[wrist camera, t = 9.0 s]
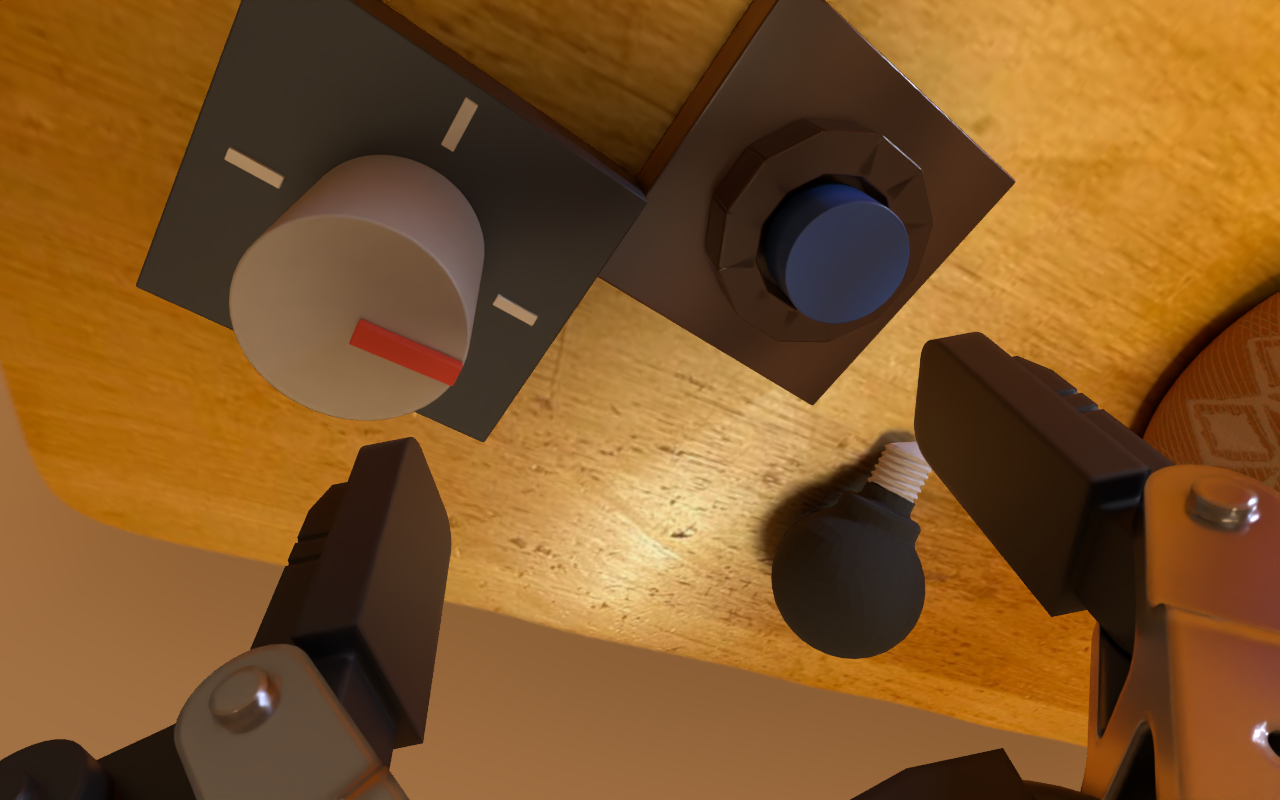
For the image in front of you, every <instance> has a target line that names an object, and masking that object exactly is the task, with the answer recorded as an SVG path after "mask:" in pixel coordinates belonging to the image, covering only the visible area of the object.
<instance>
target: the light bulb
mask: <svg viewBox="0 0 1280 800" xmlns="http://www.w3.org/2000/svg"><path fill="white" fill-rule="evenodd" d="M884 447H885V448H886V450H885V451H883V452H881V454H882V457H881V458H878V461H879V464H876V465H875V467H876V470H875V471H872V472H871V473H872V474H873V476H872V477H869V478H868V480H867V482H866V484H865V486H864V488H863V489H862V490H861V491H860V492H858V493H857V492H854V491H851V490H846V491H844V492H843V493H842V495H841V497H840V499H839V501H838V502H837V504H836V505H835V506H833V507H830V508H825V509H821V510H818V511H816V512H814V513H811V514H809V515H807V516H805V517H803V518H802V519H801V520H799V521H798V522H797V523H795V524H794V525H793V526H792V527H791V528H790V529H789V530H788V532H787V533H786V534H785V536H784V537H783V539H782V540H781V542H780V544H779V546H778V547H777V550H776V553H775V556H774V559H773V564H772V576H771V578H772V589H773V594H774V598H775V602H776V604H777V607H778V609H779V611H780V613H781V615H782V617H783V618H784V620H785V622H786V623H787V624H788V626H789V627H790V628H791V630H792V631H793V632H794V633H795V634H796V635H797V636H798V637H800V638H801V639H802V640H803V641H804V642H806V643H807V644H809V645H810V646H812V647H813V648H815V649H817V650H819V651H821V652H824V653H826V654H829V655H832V656H836V657H840V658H850V659H859V658H868V657H873V656H876V655H879V654H881V653H884V652H886V651H888V650H890V649H891V648H893V647H894V646H896V645H897V644H898V643H900V642H901V641H902V640H904V639H905V638H906V636H907V635H908V634H909V633H910V632H911V630H912V629H913V628H914V626H915V625H916V623H917V621H918V619H919V617H920V614H921V611H922V609H923V604H924V598H925V577H924V573H923V569H922V565H921V562H920V559H919V557H918V555H917V553H916V550H915V547H914V546H915V542H916V540H917V537H918V535H919V533H920V531H921V529H920V526H919V525H918V524H917V523H916V522H914V521H913V520H911V518H910V513H911V511H912V509H913V507H914V505H915V503H914V502H913V500H914V499H918V496H917V493H918V492H921V489H920V487H921V486H924V485H925V483H924V480H925V479H928V476H927V473H928V472H932V471H931V467H930V465H929V464H928V463H927V462H926V460H925V459H924V458H923V456H922V454H921V452H920V450H919V447H918V444H917V441H915V442H898V443H889V444H888V445H885V446H884Z"/></svg>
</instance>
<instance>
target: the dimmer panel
mask: <svg viewBox="0 0 1280 800" xmlns="http://www.w3.org/2000/svg"><path fill="white" fill-rule="evenodd" d="M369 155H393V156H398V157H403V158H407V159H410V160H414V161H417V162H419V163H421V164H424V165H426V166H428V167H430V168H432V169H433V170H435V171H437V172H438V173H440V174H441V175H443V176H444V177H445V178H447V179H448V180H449V181H450V182H452V183H453V184H454V185H455V186H456V187H457V188H458V189H459V190H460V192H461V193H462V194H463V195H464V197H465V198H466V199H467V200H468V202H469V203H470V205H471V207H472V208H473V210H474V212H475V214H476V216H477V218H478V221H479V223H480V227H481V230H482V234H483V240H484V263H483V269H482V275H481V281H480V287H479V293H478V299H477V304H476V310H475V316H474V322H473V328H472V334H471V339H470V345H469V350H468V354H467V357H466V360H465V363H464V365H463V367H462V370H461V372H460V374H459V376H458V377H457V379H456V381H455V383H454V385H453V386H450V387H449V388H448V389H447V390H446V391H445V392H444V393H443V394H442V395H441V396H439V397H438V398H437V399H436V400H434V401H433V402H431V403H430V404H428V405H427V406H425V407H423V408H421V409H419V410H417V411H415V412H416V413H419V414H421V415H423V416H425V417H428V418H430V419H432V420H434V421H437V422H439V423H441V424H443V425H445V426H448V427H450V428H452V429H454V430H457V431H459V432H461V433H463V434H466V435H468V436H470V437H472V438H474V439H477V440H479V441H481V442H485V440H486V439H487V438H488V436H489V435H490V433H491V432H492V430H493V429H494V427H495V426H496V424H497V423H498V421H499V420H500V418H501V417H502V416H503V414H504V413H505V411H506V410H507V408H508V407H509V405H510V404H511V402H512V401H513V399H514V398H515V396H516V395H517V394H518V392H519V391H520V389H521V388H522V386H523V385H524V383H525V382H526V380H527V379H528V377H529V376H530V374H531V373H532V372H533V370H534V369H535V367H536V366H537V364H538V363H539V361H540V360H541V358H542V357H543V355H544V354H545V352H546V351H547V350H548V348H549V347H550V345H551V344H552V342H553V341H554V339H555V338H556V336H557V335H558V333H559V332H560V331H561V329H562V328H563V326H564V325H565V323H566V322H567V320H568V319H569V317H570V316H571V314H572V313H573V311H574V310H575V309H576V307H577V306H578V304H579V303H580V301H581V300H582V298H583V297H584V295H585V294H586V292H587V291H588V289H589V288H590V287H591V285H592V284H593V282H594V281H595V279H596V278H597V276H598V275H599V273H600V272H601V270H602V269H603V267H604V266H605V265H606V263H607V262H608V260H609V259H610V257H611V256H612V254H613V253H614V251H615V250H616V248H617V247H618V245H619V244H620V243H621V241H622V240H623V238H624V237H625V235H626V234H627V232H628V231H629V229H630V228H631V226H632V225H633V223H634V222H635V221H636V219H637V218H638V216H639V215H640V213H641V212H642V210H643V209H644V207H645V206H646V204H647V202H648V201H647V199H646V197H645V195H644V193H643V191H642V189H641V188H640V186H639V184H638V182H637V180H636V178H635V176H634V175H632V174H631V173H629V172H628V171H626V170H625V169H624V168H622V167H621V166H619V165H618V164H616V163H615V162H613V161H612V160H611V159H609V158H608V157H606V156H605V155H603V154H602V153H600V152H599V151H597V150H596V149H595V148H593V147H592V146H590V145H589V144H587V143H586V142H584V141H583V140H582V139H580V138H579V137H577V136H576V135H574V134H573V133H571V132H570V131H568V130H567V129H566V128H564V127H563V126H561V125H560V124H558V123H557V122H555V121H554V120H553V119H551V118H550V117H548V116H547V115H545V114H544V113H542V112H541V111H539V110H538V109H537V108H535V107H534V106H532V105H531V104H529V103H528V102H526V101H525V100H523V99H522V98H521V97H519V96H518V95H516V94H515V93H513V92H512V91H510V90H509V89H508V88H506V87H505V86H503V85H502V84H500V83H499V82H497V81H496V80H494V79H493V78H492V77H490V76H489V75H487V74H486V73H484V72H483V71H481V70H480V69H479V68H477V67H476V66H474V65H473V64H471V63H470V62H468V61H467V60H465V59H464V58H463V57H461V56H460V55H458V54H457V53H455V52H454V51H452V50H451V49H450V48H448V47H447V46H445V45H444V44H442V43H441V42H439V41H438V40H436V39H435V38H434V37H432V36H431V35H429V34H428V33H426V32H425V31H423V30H422V29H421V28H419V27H418V26H416V25H415V24H413V23H412V22H410V21H409V20H407V19H406V18H405V17H403V16H402V15H400V14H399V13H397V12H396V11H394V10H393V9H392V8H390V7H389V6H387V5H386V4H384V3H383V2H381V1H380V0H242V1H241V3H240V6H239V9H238V11H237V14H236V17H235V19H234V22H233V25H232V28H231V30H230V33H229V36H228V38H227V41H226V44H225V46H224V49H223V52H222V55H221V57H220V60H219V63H218V65H217V68H216V71H215V73H214V76H213V79H212V81H211V84H210V87H209V90H208V92H207V95H206V98H205V100H204V103H203V106H202V108H201V111H200V114H199V116H198V119H197V122H196V125H195V127H194V130H193V133H192V135H191V138H190V141H189V143H188V146H187V149H186V152H185V154H184V157H183V160H182V162H181V165H180V168H179V170H178V173H177V176H176V178H175V181H174V184H173V187H172V189H171V192H170V195H169V197H168V200H167V203H166V205H165V208H164V211H163V213H162V216H161V219H160V222H159V224H158V227H157V230H156V232H155V235H154V238H153V240H152V243H151V246H150V249H149V251H148V254H147V257H146V259H145V262H144V265H143V267H142V270H141V273H140V275H139V278H138V281H137V284H136V286H137V287H138V288H140V289H142V290H145V291H147V292H149V293H151V294H154V295H156V296H158V297H160V298H162V299H165V300H167V301H169V302H171V303H174V304H176V305H178V306H180V307H183V308H185V309H187V310H189V311H191V312H194V313H196V314H198V315H200V316H203V317H205V318H207V319H209V320H211V321H214V322H216V323H218V324H220V325H223V326H225V327H227V328H229V329H232V330H233V326H232V321H231V317H230V308H229V295H230V286H231V282H232V278H233V274H234V272H235V270H236V267H237V265H238V263H239V261H240V259H241V258H242V256H243V255H244V253H245V252H246V250H247V249H248V248H249V247H250V246H251V245H252V244H253V243H254V242H255V241H256V240H257V239H258V238H259V237H260V236H261V235H262V234H263V233H264V232H265V231H266V230H267V229H268V228H269V227H270V226H271V225H272V224H274V223H275V222H276V221H277V220H278V219H279V218H280V217H281V216H282V215H283V214H284V213H285V212H286V211H287V210H288V209H289V208H290V207H291V206H292V205H293V204H295V203H296V202H297V201H298V200H299V199H300V198H301V197H302V196H303V195H304V194H305V193H306V192H307V191H308V190H309V189H310V188H311V187H312V186H313V185H314V184H316V183H317V182H318V181H319V180H320V179H321V178H322V177H323V176H324V175H325V174H326V173H328V172H329V171H330V170H332V169H333V168H334V167H336V166H338V165H340V164H342V163H344V162H346V161H349V160H352V159H354V158H358V157H363V156H369Z"/></svg>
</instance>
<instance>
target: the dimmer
mask: <svg viewBox="0 0 1280 800" xmlns="http://www.w3.org/2000/svg"><path fill="white" fill-rule="evenodd" d="M483 263H484V240H483V234H482V230H481V227H480V223H479V221H478V218H477V216H476V214H475V212H474V210H473V208H472V207H471V205H470V203H469V202H468V200H467V199H466V198H465V197H464V195H463V194H462V193H461V192H460V190H459V189H458V188H457V187H456V186H455V185H454V184H453V183H452V182H450V181H449V180H448V179H447V178H445V177H444V176H443V175H441V174H440V173H438V172H437V171H435V170H433V169H432V168H430V167H428V166H426V165H424V164H421V163H419V162H417V161H414V160H410V159H407V158H403V157H398V156H393V155H369V156H363V157H358V158H354V159H352V160H349V161H346V162H344V163H342V164H340V165H338V166H336V167H334V168H333V169H332V170H330V171H329V172H328V173H326V174H325V175H324V176H323V177H322V178H321V179H320V180H319V181H318V182H317V183H316V184H314V185H313V186H312V187H311V188H310V189H309V190H308V191H307V192H306V193H305V194H304V195H303V196H302V197H301V198H300V199H299V200H298V201H297V202H296V203H295V204H293V205H292V206H291V207H290V208H289V209H288V210H287V211H286V212H285V213H284V214H283V215H282V216H281V217H280V218H279V219H278V220H277V221H276V222H275V223H274V224H272V225H271V226H270V227H269V228H268V229H267V230H266V231H265V232H264V233H263V234H262V235H261V236H260V237H259V238H258V239H257V240H256V241H255V242H254V243H253V244H252V245H251V246H250V247H249V248H248V249H247V250H246V252H245V253H244V255H243V256H242V258H241V259H240V261H239V263H238V265H237V267H236V270H235V272H234V274H233V278H232V282H231V286H230V295H229V308H230V317H231V321H232V326H233V330H234V333H235V335H236V338H237V340H238V343H239V345H240V347H241V348H242V350H243V352H244V354H245V356H246V357H247V359H248V360H249V361H250V363H251V364H252V365H253V367H254V368H255V369H256V370H257V371H258V372H259V374H260V375H261V376H262V377H263V378H264V379H265V380H266V381H267V382H268V383H270V384H271V385H272V386H273V387H274V388H275V389H277V390H278V391H280V392H281V393H282V394H284V395H285V396H287V397H288V398H290V399H292V400H293V401H295V402H297V403H299V404H301V405H303V406H305V407H307V408H310V409H312V410H314V411H317V412H320V413H323V414H326V415H329V416H333V417H338V418H343V419H350V420H366V421H374V420H384V419H391V418H395V417H400V416H403V415H406V414H409V413H412V412H415V411H417V410H419V409H421V408H423V407H425V406H427V405H428V404H430V403H431V402H433V401H434V400H436V399H437V398H438V397H439V396H441V395H442V394H443V393H444V392H445V391H446V390H447V389H448V388H449V387H450V386H453V385H454V383H455V381H456V379H457V377H458V376H459V374H460V372H461V370H462V367H463V365H464V363H465V360H466V357H467V354H468V350H469V345H470V339H471V334H472V328H473V322H474V316H475V310H476V304H477V299H478V293H479V287H480V281H481V275H482V269H483Z"/></svg>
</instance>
